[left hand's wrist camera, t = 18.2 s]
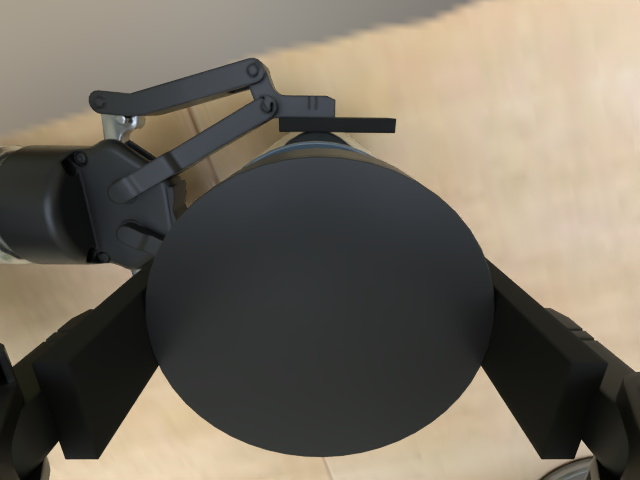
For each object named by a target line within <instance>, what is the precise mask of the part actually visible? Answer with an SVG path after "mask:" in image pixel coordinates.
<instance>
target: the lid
mask: <svg viewBox="0 0 640 480" xmlns="http://www.w3.org/2000/svg"><path fill="white" fill-rule="evenodd" d="M494 312H495V306H494V289H493V284H492V280H491V275H490V270H489V267H488V264H487V262H486V259H485V257H484V254H483V252H482V249H481V247H480V246H479V244H478V242H477V240H476V239H475V237H474V235H473V234H472V232H471V230H470V229H469V228H468V226H467V225H466V224H465V223H464V221H463V220H462V219H461V218H460V216H459V215H458V214H457V213H456V212H455V211H454V210H453V209H452V208H451V207H450V206H449V205H448V204H447V203H446V202H444V201H443V200H442V199H441V198H440V197H439V196H438V195H436V194H435V193H433V192H432V191H430V190H429V189H428V188H426V187H425V186H423V185H422V184H420V183H419V182H417V181H416V180H414V179H413V178H411V177H410V176H408V175H407V174H405V173H404V172H402V171H401V170H399V169H398V168H396V167H394V166H392V165H390V164H388V163H386V162H384V161H381V160H379V159H377V158H374V157H371V156H367V155H364V154H361V153H358V152H352V151H347V150H341V149H330V148H310V149H299V150H292V151H288V152H283V153H279V154H275V155H272V156H269V157H266V158H264V159H261V160H259V161H256V162H253V163H252V164H250V165H248V166H246V167H244V168H243V169H241V170H239V171H237V172H235V173H234V174H232V175H231V176H230V177H228V178H227V179H225V180H224V181H222V182H221V183H219V184H218V185H216V186H215V187H213V188H212V189H211V190H209V191H208V192H207V193H205V194H204V195H203V196H201V197H200V198H199V199H197V200H196V201H195V202H194V203H193V204H192V205H191V206H190V207H189V208H188V209H187V210H186V211H185V212H184V213H183V214H182V215H181V216H180V217H179V218H178V219H177V221H176V222H175V224H174V225H173V226H172V228H171V229H170V231H169V232H168V233H167V235H166V236H165V238H164V240H163V242H162V244H161V246H160V248H159V250H158V252H157V254H156V256H155V258H154V261H153V264H152V267H151V271H150V274H149V277H148V283H147V290H146V296H145V318H146V324H147V329H148V334H149V339H150V343H151V346H152V350H153V353H154V356H155V358H156V360H157V362H158V364H159V366H160V368H161V370H162V372H163V374H164V375H165V377H166V379H167V380H168V382H169V383H170V385H171V386H172V388H173V389H174V390H175V391H176V393H177V394H178V395H179V396H180V397H181V398H182V400H183V401H184V402H185V403H186V404H187V405H188V406H189V407H190V408H191V409H193V410H194V411H195V412H196V413H197V414H198V415H199V416H200V417H202V418H203V419H205V420H206V421H207V422H209V423H210V424H211V425H213V426H214V427H216V428H217V429H219V430H221V431H223V432H224V433H226V434H228V435H230V436H232V437H234V438H236V439H238V440H241V441H243V442H245V443H247V444H250V445H253V446H256V447H259V448H262V449H265V450H269V451H274V452H278V453H283V454H288V455H297V456H305V457H332V456H344V455H351V454H357V453H362V452H366V451H370V450H374V449H378V448H381V447H384V446H386V445H389V444H392V443H395V442H397V441H399V440H402V439H404V438H406V437H408V436H410V435H412V434H414V433H416V432H417V431H419V430H420V429H422V428H424V427H425V426H427V425H428V424H430V423H431V422H433V421H434V420H435V419H436V418H438V417H439V416H440V415H441V414H443V413H444V412H445V411H446V410H447V409H448V408H449V407H450V406H451V405H452V404H453V403H454V402H455V401H456V400H457V399H458V398H459V397H460V396H461V395H462V393H463V392H464V391H465V390H466V388H467V387H468V386H469V384H470V383H471V382H472V380H473V378H474V376H475V375H476V373H477V371H478V370H479V368H480V366H481V364H482V362H483V359H484V357H485V354H486V352H487V349H488V346H489V342H490V337H491V332H492V327H493V322H494Z"/></svg>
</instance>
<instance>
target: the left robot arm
mask: <svg viewBox="0 0 640 480" xmlns="http://www.w3.org/2000/svg"><path fill="white" fill-rule="evenodd" d="M485 259H486V258H485ZM153 261H154V258H153V259H152V260H151V261H150V262H149V263H148V264H146V265H145V266H144V267H143V268H142V269H141V270H139V271H138V272H137V273H136V274H135V275H134V276H132V277H131V278H130V279H129V280H128V281H127V282H125V283H124V284H123V285H122V286H121V287H120V288H118V289H117V290H116V291H115V292H114V293H113V294H111V295H110V296H109V297H108V298H107V299H106V300H104V301H103V302H102V303H101V304H100V305H99V306H97V307H96V308H95V309H90V310H88V311H86V312H84V313H82V314H80V315H78V316H76V317H74V318H72V319H71V320H69V321H68V322H67V323H66V324H65V325H63V326H62V327H61V328H60V329H58V332H55V333H54V334H52V335H51V336H50V337H49V338H47V339H46V342H43V343H41V344H40V345H39V346H38V347H36V348H35V349H34V350H33V351H32V352H30V353H29V354H28V355H27V356H25V357H24V358H23V359H22V360H21V361H19V362H18V363H17V364H16V365H14V366H13V367H12V365H11V362H10V360H9V357H8V354H7V352H6V349H5V347H4V345H3V344H1V343H0V480H49V476H50V465H49V461H48V458H47V455H48V454H49V452H50V451H51V450H52V449H53V447H54V446H55V445H56V444H57V442H58V441H59V442H60V445H61V448H62V451H63V454H64V456H65V459H99V457H100V456H101V454H102V453H103V451H104V450H105V448H106V446H107V445H108V443H109V442H110V440H111V439H112V437H113V436H114V434H115V432H116V431H117V429H118V428H119V426H120V425H121V423H122V422H123V420H124V418H125V417H126V415H127V414H128V412H129V411H130V409H131V408H132V406H133V405H134V403H135V401H136V400H137V398H138V397H139V395H140V394H141V392H142V391H143V389H144V387H145V386H146V384H147V383H148V381H149V380H150V378H151V377H152V375H153V374H154V372H155V370H156V369H157V367H158V366H159V364H158V362H157V360H156V358H155V356H154V353H153V350H152V346H151V343H150V339H149V334H148V329H147V324H146V318H145V296H146V290H147V283H148V277H149V274H150V271H151V267H152V264H153ZM486 262H487V264H488V267H489V270H490V275H491V280H492V284H493V289H494V306H495V312H494V322H493V327H492V332H491V337H490V342H489V346H488V349H487V352H486V354H485V357H484V359H483V362H482V364H481V366H482V368H483V369H484V371H485V372H486V374H487V375H488V377H489V379H490V380H491V382H492V383H493V385H494V386H495V388H496V389H497V391H498V392H499V394H500V396H501V397H502V399H503V400H504V402H505V403H506V405H507V406H508V408H509V410H510V411H511V413H512V414H513V416H514V417H515V419H516V420H517V422H518V424H519V425H520V427H521V428H522V430H523V431H524V433H525V434H526V436H527V437H528V439H529V441H530V442H531V444H532V445H533V447H534V448H535V450H536V451H537V453H538V455H539V456H540V458H541V459H574V458H575V455H576V453H577V450H578V447H579V444H580V442H581V439H582V441H583V442H584V443H585V444H586V446H587V447H588V448H589V449H590V451H591V452H592V453H593V454H594V456H593V458H590V459H585V460H581V461H577V462H574V463H571V464H568V465H566V466H564V467H562V468H560V469H558V470H556V471H554V472H552V473H551V474H549V475H548V476H547V477H545V478H544V479H543V480H640V372H635V371H634V370H632V369H631V368H630V367H629V366H628V365H626V364H625V363H624V362H623V361H621V360H620V359H619V358H618V357H616V356H615V355H614V354H613V353H612V352H610V351H609V350H608V349H607V348H605V347H604V346H603V345H602V344H600V343H599V342H598V341H594V338H593V337H592V336H591V335H589V334H588V333H587V332H586V331H583V330H582V328H581V327H580V326H578V325H577V324H576V323H575V322H573V321H572V320H571V319H570V318H568V317H566V316H564V315H563V314H561V313H559V312H557V311H555V310H553V309H551V308H543V307H542V306H541V305H540V304H539V303H538V302H536V301H535V300H534V299H533V298H532V297H531V296H529V295H528V294H527V293H526V292H525V291H524V290H523V289H521V288H520V287H519V286H518V285H517V284H516V283H514V282H513V281H512V280H511V279H510V278H509V277H507V276H506V275H505V274H504V273H503V272H502V271H500V270H499V269H498V268H497V267H496V266H495V265H493V264H492V263H491V262H490V261H489V260H488V259H486Z"/></svg>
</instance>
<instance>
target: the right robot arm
mask: <svg viewBox="0 0 640 480" xmlns="http://www.w3.org/2000/svg"><path fill="white" fill-rule="evenodd" d="M249 89H250V91H251V93H252V96H253V98H254V101H252V102H251V103H249V104H247V105H246V106H244V107H242V108H241V109H239V110H237V111H236V112H234V113H232V114H231V115H229V116H227V117H226V118H224V119H222V120H221V121H219V122H218V123H216V124H214V125H213V126H211V127H209V128H208V129H206V130H204V131H203V132H201V133H199V134H198V135H196V136H194V137H193V138H191V139H189V140H188V141H186V142H184V143H183V144H181V145H179V146H178V147H176V148H174V149H173V150H171V151H169V152H167V153H165V154H163V155H161V156H159V157H158V158H156V157H155V156H153V155H152V154H150V153H149V152H147V151H146V150H144V149H143V148H141V147H140V146H138V145H137V144H135V143H134V142H132V141H130V140H129V135H130V133H131V132H132V131H133V130H137V129H141V128H142V127H143V126H144V124H145V116H155V115H162V114H166V113H170V112H173V111H177V110H180V109H184V108H187V107H190V106H194V105H197V104H201V103H204V102H208V101H211V100H215V99H218V98H222V97H225V96H229V95H232V94H236V93H239V92H243V91H246V90H249ZM89 104H90V106H91V108H92V109H93V110H94V111H95V112H97V113H100V114H101V116H102V124H103V132H104V140H102V141H100V142H99V143H97V144H96V145H94V146H27V147H22V146H18V145H0V264H31V263H37V264H101V263H113V264H117V265H120V266H122V267H124V268H126V269H130V270H131V271H132V274H133V276H134V275H135V274H136V273H137V272H138V271H139V270H141V269H142V268H143V267H144V266H145V265H146V264H148V263H149V262H150V261H151V260H152V259H153V258H155V256H156V254H157V252H158V250H159V248H160V246H161V244H162V242H163V240H164V238H165V236H166V235H167V233H168V232H169V231H170V229H171V228H172V226H173V225H174V224H175V222H176V221H177V219H178V218H179V217H180V216H181V215H182V214H183V213H184V212H185V211H186V210H187V207H186V205H185V198H186V185H185V180H181V178H180V176H179V175H178V174H180V173H182V172H184V171H185V170H187V169H189V168H190V167H192V166H194V165H195V164H197V163H198V162H200V161H202V160H203V159H205V158H207V157H208V156H210V155H212V154H214V153H215V152H217V151H219V150H220V149H222V148H224V147H225V146H227V145H229V144H231V143H232V142H234V141H236V140H237V139H239V138H241V137H243V136H244V135H246V134H248V133H249V132H251V131H253V130H254V129H256V128H258V127H260V126H261V125H263V124H265V123H266V122H268V121H270V120H272V119H273V118H279V132H350V133H395V126H396V119H392V118H350V117H335V100H334V99H332V98H330V97H328V96H290V95H281V94H279V93H278V92H277V91H276V89H275V87H274V84H273V82H272V79H271V76H270V72H269V70H268V68H267V67H266V66H265V65H264V64H263V63H262V62H260V61H259V60H258V59H255V58H248V59H245V60H242V61H238V62H235V63H232V64H228V65H225V66H221V67H218V68H215V69H211V70H208V71H205V72H201V73H198V74H195V75H191V76H188V77H184V78H181V79H178V80H174V81H171V82H167V83H164V84H161V85H157V86H154V87H151V88H147V89H144V90H140V91H137V92H134V93H120V92H109V91H93V92H92V93H91V94H90V96H89Z"/></svg>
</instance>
